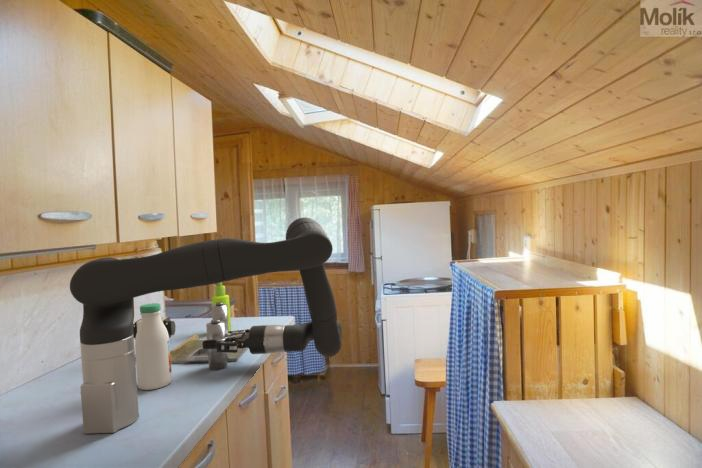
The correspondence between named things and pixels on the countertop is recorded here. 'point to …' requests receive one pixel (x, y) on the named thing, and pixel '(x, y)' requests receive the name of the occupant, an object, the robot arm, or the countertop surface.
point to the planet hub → (216, 358)
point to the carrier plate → (194, 346)
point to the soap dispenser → (222, 300)
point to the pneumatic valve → (166, 321)
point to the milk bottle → (152, 350)
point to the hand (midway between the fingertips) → (207, 341)
